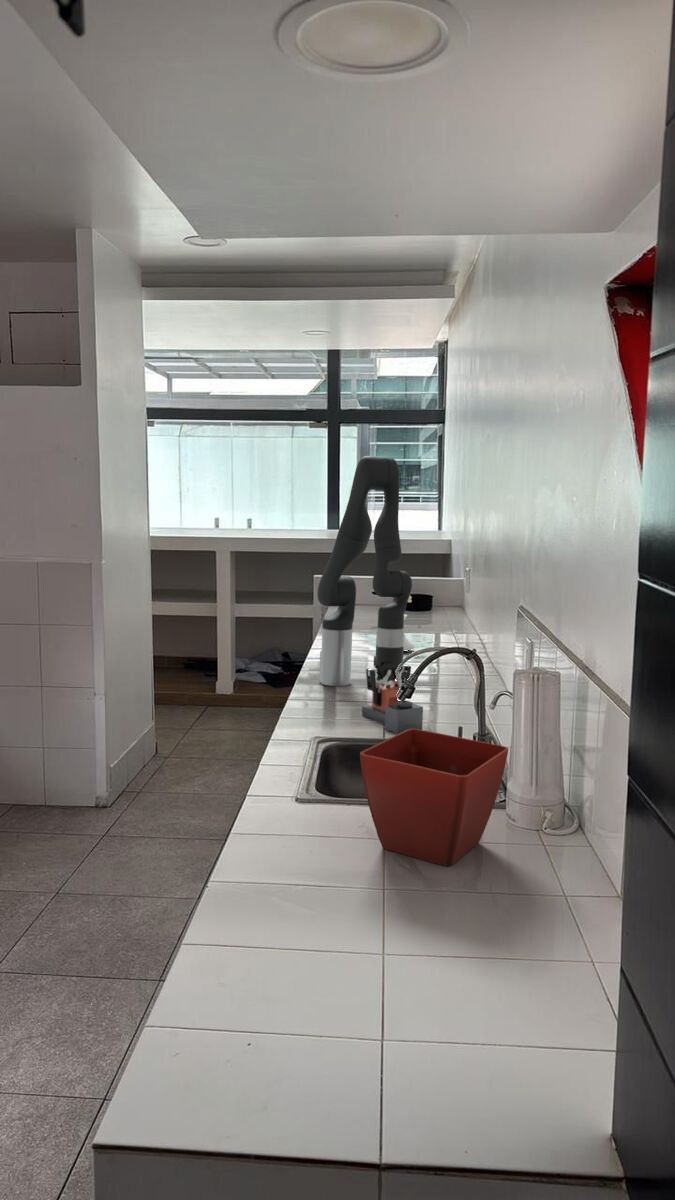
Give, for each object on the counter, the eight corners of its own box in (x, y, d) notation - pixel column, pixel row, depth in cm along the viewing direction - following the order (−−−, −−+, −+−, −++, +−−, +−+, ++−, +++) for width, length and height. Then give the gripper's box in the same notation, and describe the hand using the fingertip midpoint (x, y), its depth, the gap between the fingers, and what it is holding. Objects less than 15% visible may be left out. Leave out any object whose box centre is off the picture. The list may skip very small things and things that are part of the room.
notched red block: (372, 708, 240) (372, 683, 239) (389, 705, 243) (390, 681, 243) (385, 712, 235) (386, 688, 234) (402, 710, 238) (403, 686, 238)
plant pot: (459, 881, 134) (465, 775, 132) (353, 851, 144) (357, 752, 142) (505, 841, 150) (510, 746, 148) (406, 816, 160) (410, 727, 158)
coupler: (352, 716, 230) (353, 690, 230) (377, 712, 235) (378, 687, 234) (396, 734, 215) (398, 706, 214) (422, 730, 219) (423, 702, 218)
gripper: (402, 640, 244) (399, 698, 246) (360, 643, 236) (358, 704, 238) (419, 644, 238) (416, 704, 240) (376, 648, 230) (374, 710, 232)
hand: (387, 704), depth 239 cm, fingers closed on notched red block, 6 cm apart
